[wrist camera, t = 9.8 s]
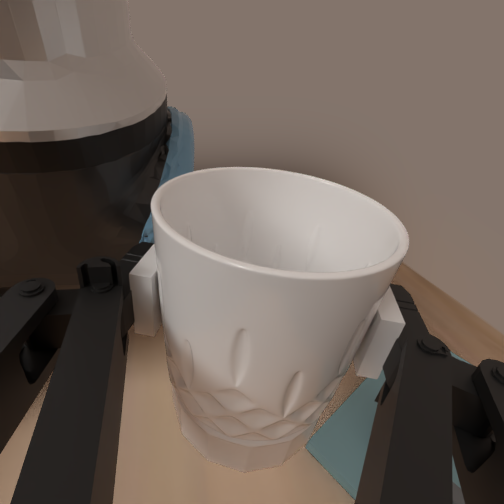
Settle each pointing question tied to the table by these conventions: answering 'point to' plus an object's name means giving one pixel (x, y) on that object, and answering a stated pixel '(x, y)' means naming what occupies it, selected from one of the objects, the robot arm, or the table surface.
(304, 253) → the white cup
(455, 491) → the glass holder
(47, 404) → the robot arm
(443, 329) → the table surface
